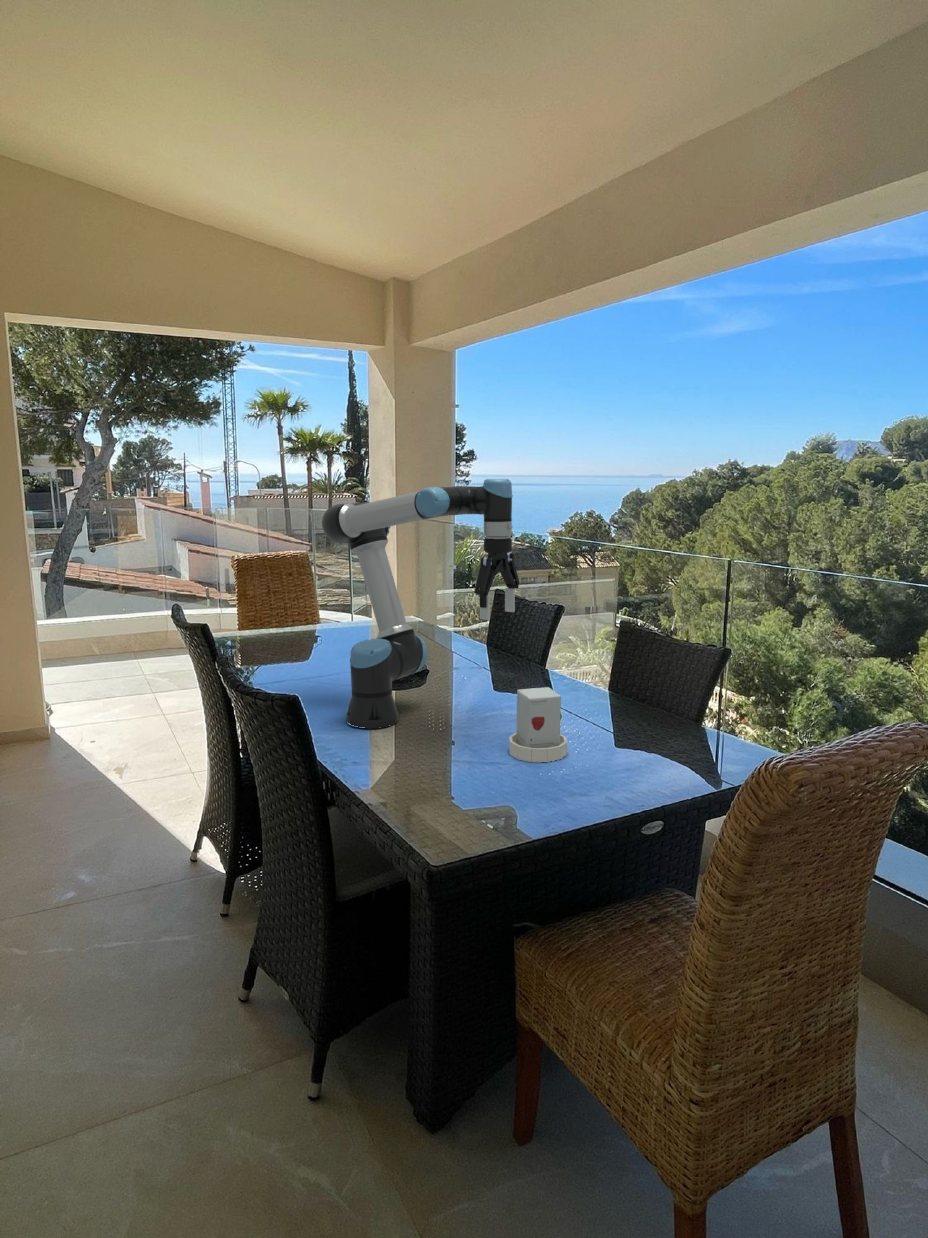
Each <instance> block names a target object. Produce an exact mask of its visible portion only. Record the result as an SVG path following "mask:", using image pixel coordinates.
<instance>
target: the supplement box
mask: <svg viewBox="0 0 928 1238" xmlns="http://www.w3.org/2000/svg"><path fill="white" fill-rule="evenodd" d="M561 708H562V696H561V695H560V694H559V693H557V692H556V691H555V690H553V689H552V688H550V687H549V686H545V687H535V688H533V687H531V688H522V689H519V688H518V689H517V691H516V732H515V733H516V744H518V745H520V746H525V747H530V748H550V747H555V746H559V745H560V734H561Z"/></svg>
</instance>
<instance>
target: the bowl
mask: <svg viewBox="0 0 928 1238" xmlns="http://www.w3.org/2000/svg"><path fill="white" fill-rule="evenodd" d="M508 739H509V740H508V741H509V743H508V744H509V750H508V751H509V755H510V756H511V757H513V758H514V759H516V760H519V761H524V762H526V763H528V762H529V763H541V762H548V763H551V762H550V761H552V762H556V761H555V760H557V761H559V760H558V759H561V760H562V759H564V758H565V757H567V755H568V739H567V737H566V736H565V735H562V734H561V733H560V745H559V746H555V747H550V748H530V747H525V746H520V745H518V744H516V732H514V733H512V734H511V735H509V738H508ZM564 756H565V757H564ZM563 757H564V758H563Z"/></svg>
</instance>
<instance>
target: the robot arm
mask: <svg viewBox="0 0 928 1238" xmlns="http://www.w3.org/2000/svg"><path fill="white" fill-rule="evenodd" d="M512 505H513V486H512V481H511V480H510V479H508V478H486V479H484V480H483V484H482V485H481V486H475V485H474V486H473V485H471V486H469V485H468V486H467V485H455V486H440V487H439V486H430V487H425V488H422V489H421V490H419V491H415V492H410V493H406V494H402V495H396V496H392V497H387V498H383V499H380V500H379V499H378V500H374V501H371V502H367V501H366V502H364V501H362V502H358V503H357V502H355V503H354V502H353V503H339V504H334V505H332V506H330V507H329V508H327V509H326V510H325V512H324V514H323V516H322V519H321V527H322V532H323V533H324V535H325V536H326V537H327V538H328V539H329V540H330V541H331V542H334V543H336V544H337V543H338V544H345V545H346V544H348V546H349V548H350V549H349V550H350V552H351V553H353V554H354V555H356V556H357V558H358V562H359V566H360V569H361V572H362V576H363V580H364V583H365V587H366V590H367V593H368V597H369V601H370V604H371V608H372V611H373V615H374V617H375V621H376V622H375V623H376V625H377V629H378V634H377V636H376V638H371V639H365V640H362V641H359V642H357V643H356V644H355V643H354V645H353V646H352V647H351V649H350V657H349V663H350V666H349V667H350V683H351V684H350V685H351V688H350V689H351V699H350V701H349V705H348V707H347V708H348V709H347V712H346V715H345V716H346V723H347V722H348V723H350V724H351V725H354V726H358V727H365V728H379V727H386V728H388V727H387V726H389V725H392V726H394V725H393V724H395V723H396V722H397V723H399V721H398V720H399V718H400V715H399V711H398V709H397V706H396V702H395V700H394V696H393V681H395V680H396V681H397V680H399V679H402V678H405V677H409V676H413V675H414V674H415V673H417V672H419V671H421V670H422V669H423V667H425V664H426V663H427V660H428V648H427V647H428V646H427V645H426V643H425V640H424V639H423V638H421V636H419V635H417V634H415V633H416V632H415V630H414V627H413V626H411V625H409V624H408V623H407V620H406V617H405V614H404V610H403V606H402V603H401V599H400V597H399V592H398V589H397V585H396V582H395V579H394V574H393V572H392V569H391V564H390V561H389V557H388V555H387V551H386V547H387V544H388V543H389V540H388V537H387V536H389V534H390V529H391V527H394V526H399V525H404V524H408V523H413V522H414V523H415V522H419V521H423V520H428V519H433V518H438V517H448V516H461V515H462V516H463V515H481V516H482V515H483V536H484V537H485V538H484V539H483V551H484V552H485V553H487V556H482V557H481V558H480V566H479V571H478V575H477V579H476V582H475V586H474V594H475V595H476V596H479V620H485V621H490V620H491V595H490V594H489V593H490V590H491V587H492V585H493V584H494V580H495V578H496V575H498V574H500V575H501V577H502V579H503V582H504V584H505V586H506V587H505V588H504V611H505V612H509V613H515V609H516V604H515V603H516V598H515V597H516V596H515V595H516V589H519V586H520V580H519V576H518V571H517V568H516V564H515V554H514V553H512V549H513V548H512V547H513V546H512V545H513V539H512V538H511V536H512V535H513V534H512V533H513V532H512V531H513V530H512V529H513V524H512V523H513V521H512V520H513V518H512V515H513V511H512V510H513V506H512ZM397 723H396V724H397ZM396 724H395V725H396ZM389 727H390V726H389Z"/></svg>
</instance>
